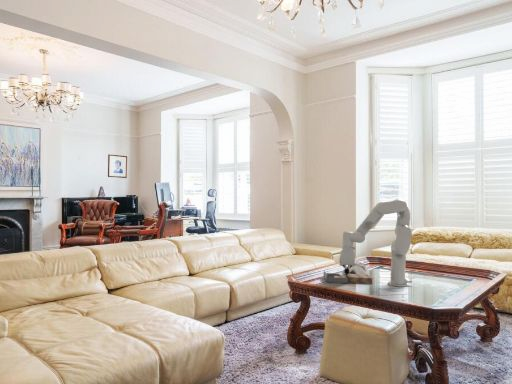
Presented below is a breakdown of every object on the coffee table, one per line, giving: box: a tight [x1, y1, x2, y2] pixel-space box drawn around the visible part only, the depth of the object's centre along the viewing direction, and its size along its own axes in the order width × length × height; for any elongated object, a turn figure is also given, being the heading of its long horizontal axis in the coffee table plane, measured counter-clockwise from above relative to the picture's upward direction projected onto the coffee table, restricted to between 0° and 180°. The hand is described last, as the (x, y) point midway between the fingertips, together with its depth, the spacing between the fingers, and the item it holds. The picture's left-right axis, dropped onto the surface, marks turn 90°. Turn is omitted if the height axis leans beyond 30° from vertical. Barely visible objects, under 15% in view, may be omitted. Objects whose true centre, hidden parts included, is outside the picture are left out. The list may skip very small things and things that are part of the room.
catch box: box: [323, 270, 349, 284], centre depth 272 cm, size 15×14×5 cm
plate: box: [345, 273, 373, 285], centre depth 272 cm, size 16×12×4 cm
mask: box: [341, 260, 370, 276], centre depth 301 cm, size 20×9×30 cm
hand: (346, 274), depth 272 cm, fingers closed
